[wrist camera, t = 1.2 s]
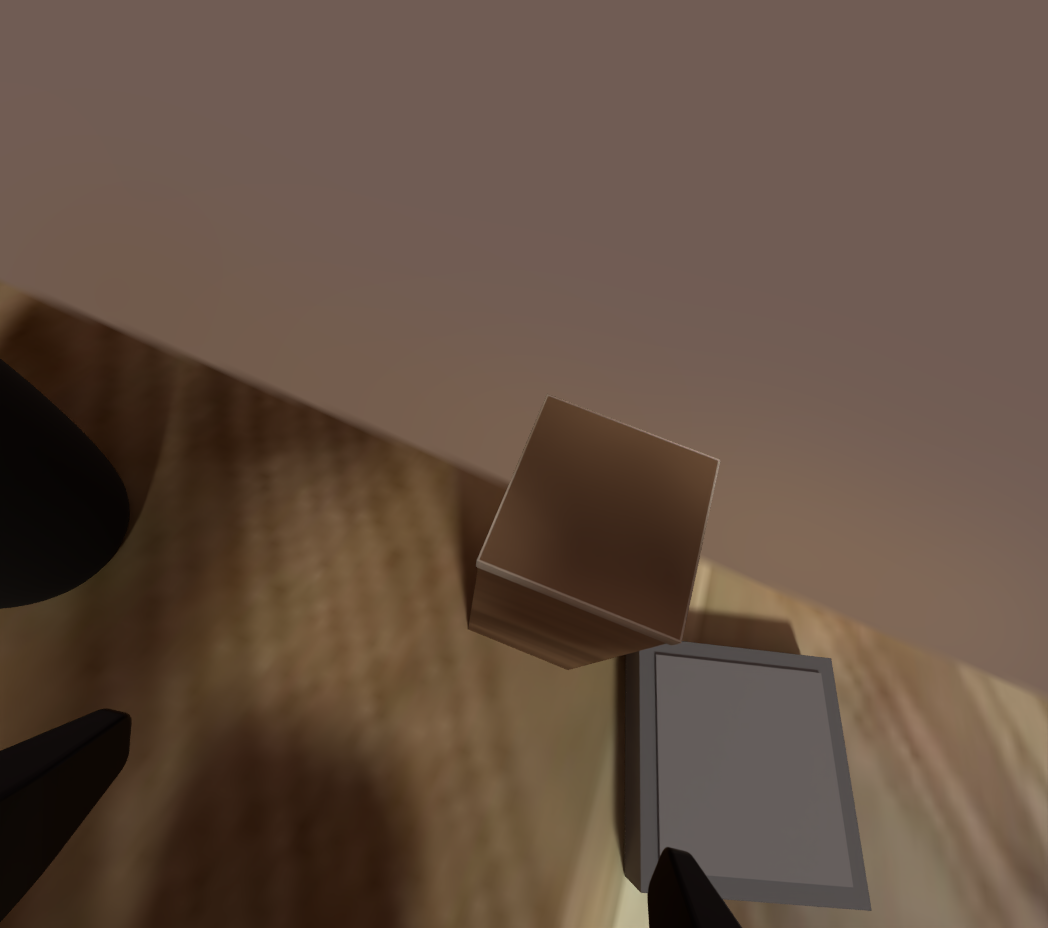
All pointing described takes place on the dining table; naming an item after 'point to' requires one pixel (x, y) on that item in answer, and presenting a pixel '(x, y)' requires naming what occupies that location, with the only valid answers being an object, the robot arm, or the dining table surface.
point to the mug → (51, 498)
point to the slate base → (741, 774)
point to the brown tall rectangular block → (593, 540)
